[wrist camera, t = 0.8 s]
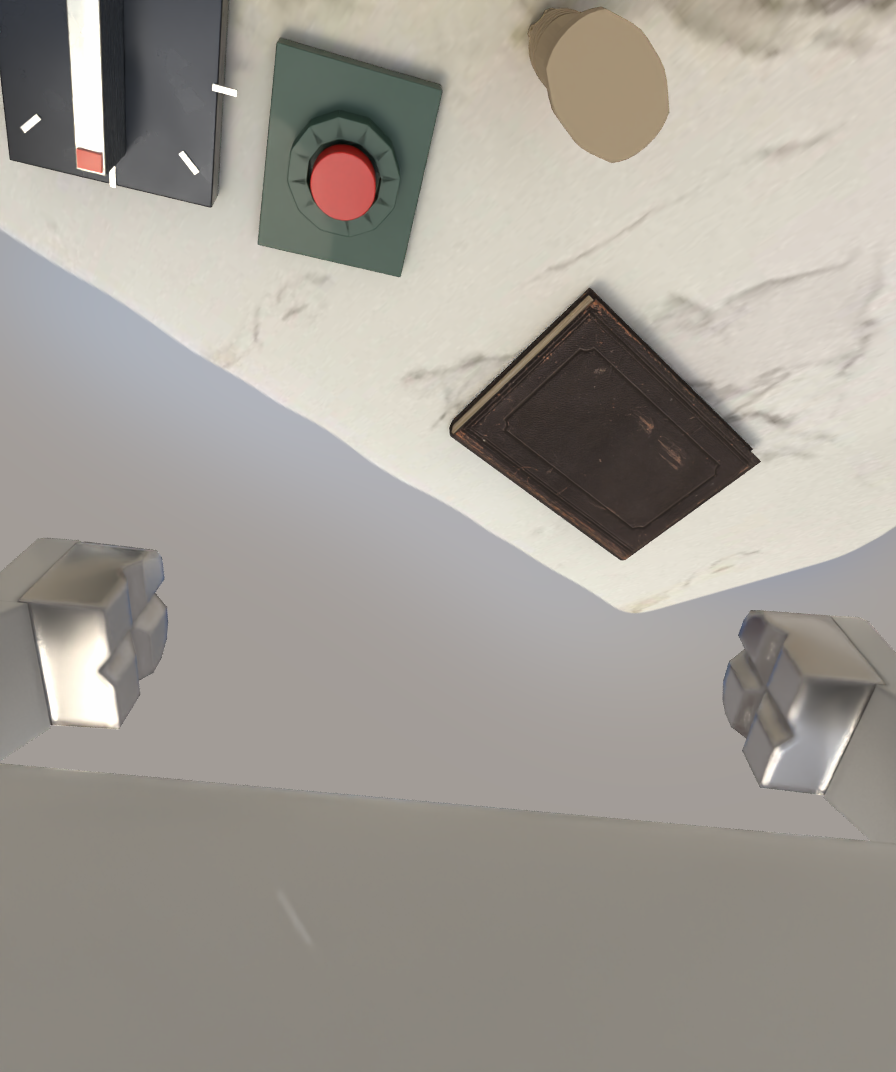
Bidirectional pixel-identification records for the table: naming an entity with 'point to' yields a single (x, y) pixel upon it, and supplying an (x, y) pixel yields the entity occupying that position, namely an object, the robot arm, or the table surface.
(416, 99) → the button box
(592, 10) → the handle
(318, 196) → the button
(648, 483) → the hardcover book
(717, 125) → the table surface
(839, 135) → the table surface
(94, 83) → the knob
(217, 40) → the control panel
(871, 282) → the table surface
